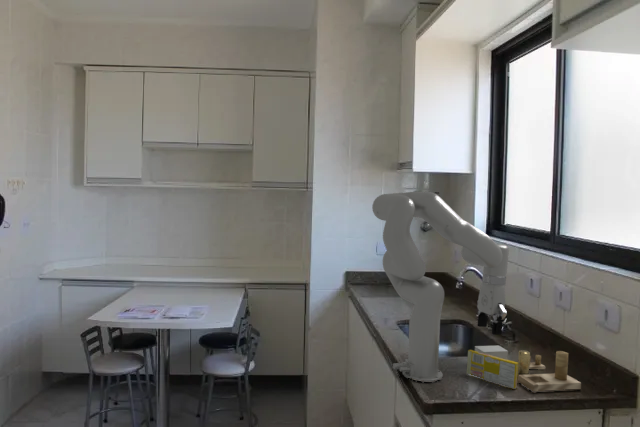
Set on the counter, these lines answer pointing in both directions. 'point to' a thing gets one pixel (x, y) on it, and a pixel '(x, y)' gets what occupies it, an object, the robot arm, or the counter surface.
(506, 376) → the candy box
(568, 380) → the board
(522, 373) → the peg
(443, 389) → the counter surface
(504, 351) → the cover
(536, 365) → the wooden knobbed lid
